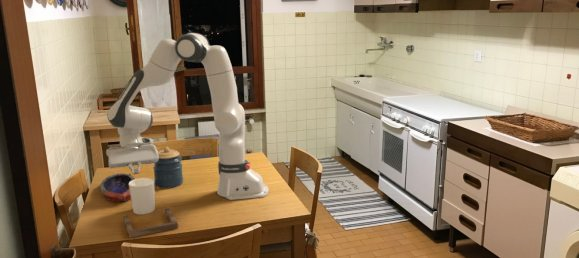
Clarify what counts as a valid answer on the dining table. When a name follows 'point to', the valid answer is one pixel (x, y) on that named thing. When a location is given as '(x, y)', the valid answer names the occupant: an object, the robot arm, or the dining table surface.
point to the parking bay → (153, 229)
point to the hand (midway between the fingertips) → (136, 173)
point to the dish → (116, 187)
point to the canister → (168, 169)
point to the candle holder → (142, 195)
